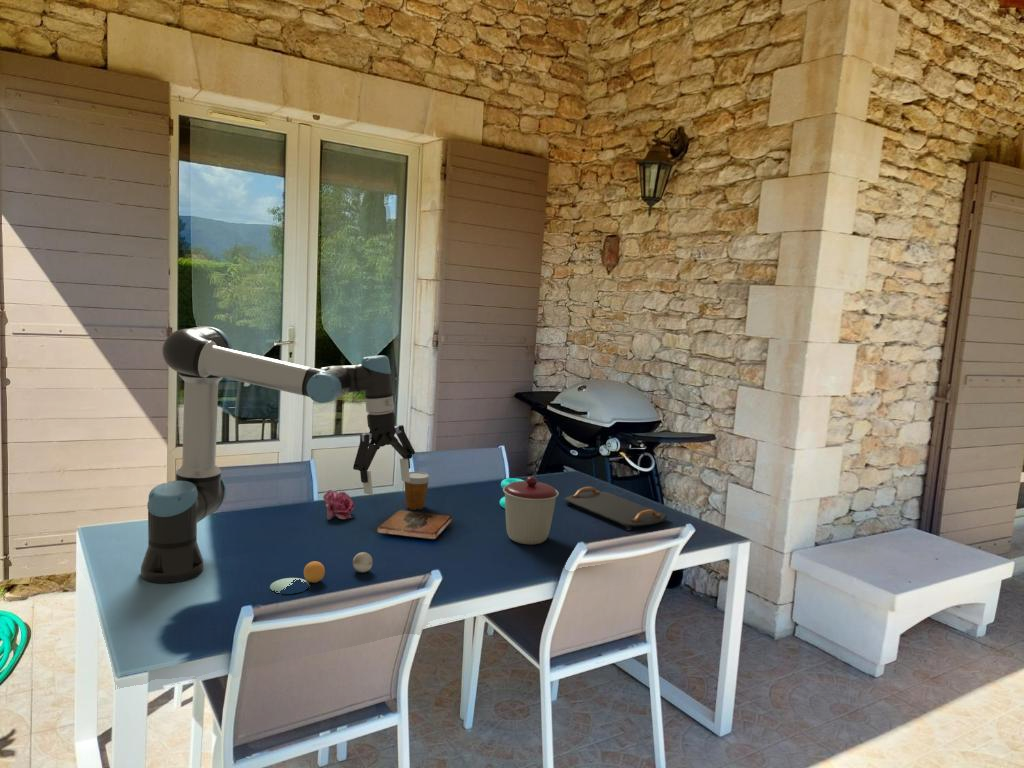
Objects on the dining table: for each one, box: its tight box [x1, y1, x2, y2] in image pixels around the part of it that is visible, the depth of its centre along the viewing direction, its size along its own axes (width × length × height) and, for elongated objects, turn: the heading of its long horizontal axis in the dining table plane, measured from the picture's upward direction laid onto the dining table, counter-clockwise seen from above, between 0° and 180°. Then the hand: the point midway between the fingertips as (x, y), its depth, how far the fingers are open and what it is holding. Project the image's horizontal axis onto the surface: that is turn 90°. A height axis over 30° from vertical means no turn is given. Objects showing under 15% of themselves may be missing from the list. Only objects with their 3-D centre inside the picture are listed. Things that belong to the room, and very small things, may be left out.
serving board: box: [563, 486, 668, 530], centre depth 267 cm, size 39×23×6 cm, turn 38°
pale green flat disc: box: [269, 577, 311, 594], centre depth 187 cm, size 10×10×1 cm
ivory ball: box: [352, 551, 374, 573], centre depth 199 cm, size 6×6×6 cm
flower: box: [323, 489, 356, 521], centre depth 242 cm, size 11×10×10 cm
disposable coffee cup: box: [403, 471, 431, 511], centre depth 257 cm, size 10×10×12 cm
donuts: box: [499, 477, 525, 510], centre depth 265 cm, size 10×10×10 cm
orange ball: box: [303, 560, 326, 583], centre depth 190 cm, size 6×6×6 cm
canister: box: [502, 476, 560, 546], centre depth 232 cm, size 18×18×21 cm
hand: (387, 487), depth 199 cm, fingers open, 13 cm apart
